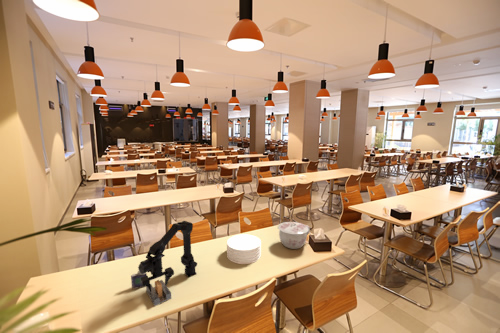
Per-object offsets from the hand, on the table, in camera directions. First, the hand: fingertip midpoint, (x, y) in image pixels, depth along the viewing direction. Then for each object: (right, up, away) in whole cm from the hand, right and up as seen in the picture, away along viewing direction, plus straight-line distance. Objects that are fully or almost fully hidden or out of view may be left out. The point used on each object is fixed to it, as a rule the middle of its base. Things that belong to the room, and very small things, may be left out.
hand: (158, 288), depth 145 cm
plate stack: (+52, +2, +49) cm, 71 cm away
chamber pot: (+95, +5, +65) cm, 116 cm away
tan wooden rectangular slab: (0, -4, 0) cm, 4 cm away
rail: (0, -4, +1) cm, 4 cm away
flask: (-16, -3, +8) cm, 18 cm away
